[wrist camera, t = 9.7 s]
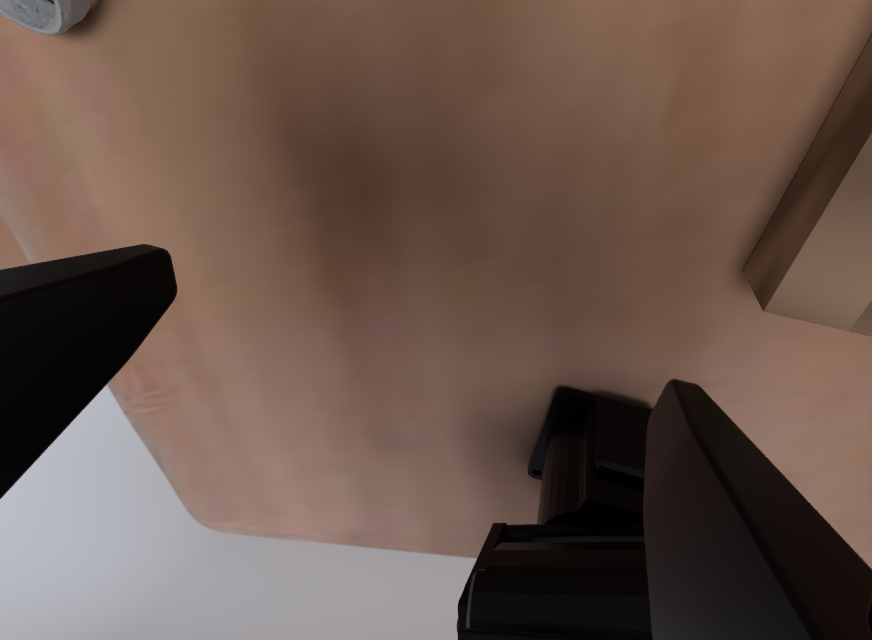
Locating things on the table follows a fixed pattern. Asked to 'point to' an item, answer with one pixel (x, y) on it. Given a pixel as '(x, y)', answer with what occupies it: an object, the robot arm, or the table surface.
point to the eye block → (825, 222)
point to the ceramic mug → (46, 14)
